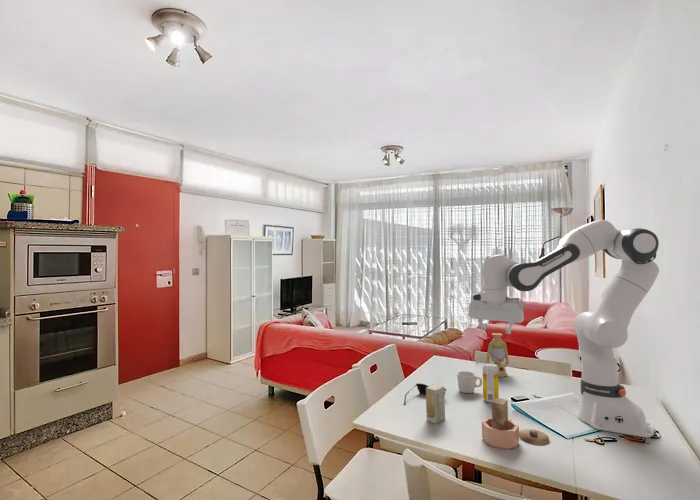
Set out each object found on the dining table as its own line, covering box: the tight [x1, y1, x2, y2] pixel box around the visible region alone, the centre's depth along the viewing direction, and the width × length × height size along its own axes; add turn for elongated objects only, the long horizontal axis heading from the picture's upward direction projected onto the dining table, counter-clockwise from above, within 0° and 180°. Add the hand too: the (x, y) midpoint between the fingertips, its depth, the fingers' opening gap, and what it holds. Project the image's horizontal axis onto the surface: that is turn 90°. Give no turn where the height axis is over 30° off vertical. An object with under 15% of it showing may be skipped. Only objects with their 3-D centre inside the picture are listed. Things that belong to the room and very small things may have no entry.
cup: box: [456, 370, 483, 394], centre depth 169 cm, size 11×8×8 cm
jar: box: [481, 416, 520, 450], centre depth 124 cm, size 11×11×6 cm
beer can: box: [482, 362, 500, 404], centre depth 158 cm, size 6×6×15 cm
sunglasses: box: [403, 383, 447, 406], centre depth 158 cm, size 14×16×5 cm
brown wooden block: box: [491, 397, 509, 430], centre depth 124 cm, size 4×5×12 cm
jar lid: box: [519, 428, 550, 445], centre depth 126 cm, size 9×9×2 cm
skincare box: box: [425, 383, 446, 425], centre depth 140 cm, size 6×4×12 cm
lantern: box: [485, 320, 510, 378], centre depth 194 cm, size 12×10×30 cm
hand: (495, 332), depth 146 cm, fingers open, 8 cm apart
